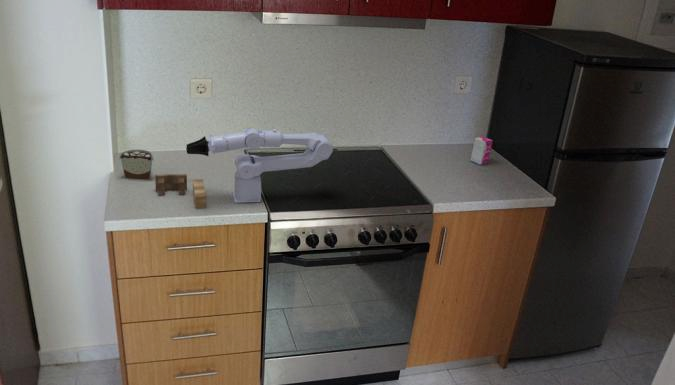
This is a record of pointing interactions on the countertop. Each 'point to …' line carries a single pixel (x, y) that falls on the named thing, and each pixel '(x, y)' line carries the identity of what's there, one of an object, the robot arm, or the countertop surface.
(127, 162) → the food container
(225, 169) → the countertop surface
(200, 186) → the rail
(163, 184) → the brown wooden stool
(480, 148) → the supplement box
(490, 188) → the countertop surface
